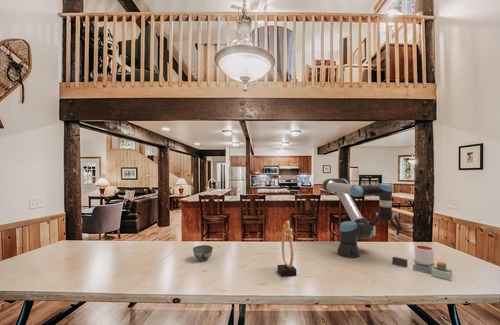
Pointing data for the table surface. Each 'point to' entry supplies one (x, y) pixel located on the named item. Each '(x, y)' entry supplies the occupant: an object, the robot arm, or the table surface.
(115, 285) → the table surface
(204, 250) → the bowl
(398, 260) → the charcoal brick
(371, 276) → the table surface
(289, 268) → the loop sculpture
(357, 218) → the robot arm
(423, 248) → the cup
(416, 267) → the clip
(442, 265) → the orange tall block
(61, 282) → the table surface
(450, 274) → the end holder
